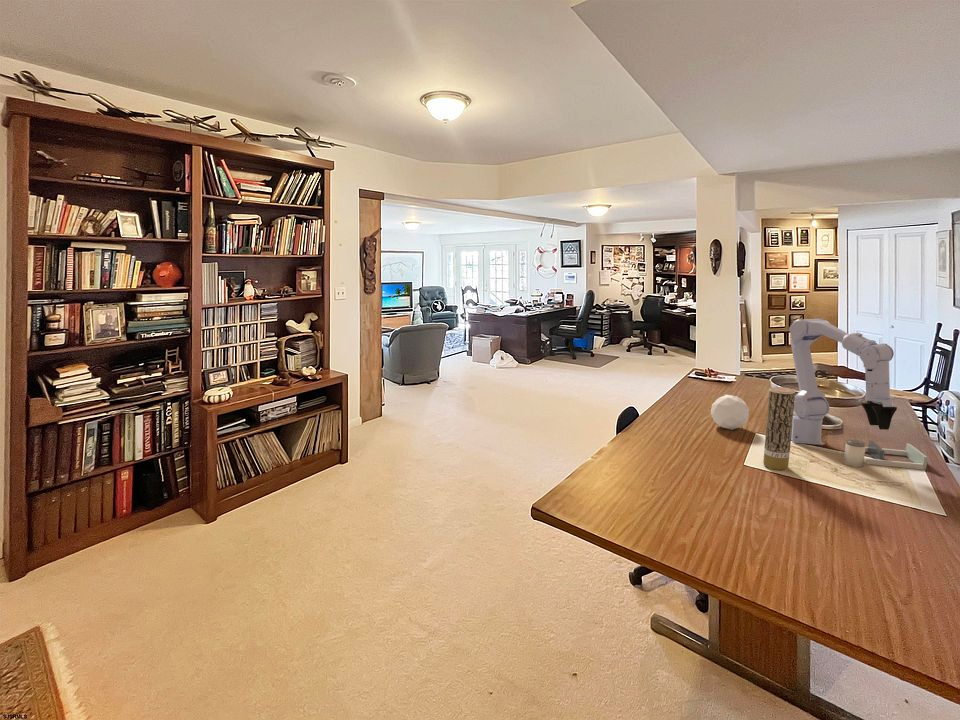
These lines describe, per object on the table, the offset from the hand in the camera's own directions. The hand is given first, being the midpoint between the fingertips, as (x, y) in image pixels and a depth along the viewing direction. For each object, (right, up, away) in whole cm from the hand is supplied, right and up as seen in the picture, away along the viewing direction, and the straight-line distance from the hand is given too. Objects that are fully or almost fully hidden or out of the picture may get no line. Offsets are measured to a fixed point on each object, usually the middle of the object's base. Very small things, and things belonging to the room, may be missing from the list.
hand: (879, 427), depth 150 cm
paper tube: (-30, -13, +3) cm, 33 cm away
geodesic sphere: (-25, -6, +42) cm, 49 cm away
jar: (-5, -12, +4) cm, 14 cm away
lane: (+8, -11, +7) cm, 16 cm away
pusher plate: (+6, -11, +8) cm, 15 cm away
